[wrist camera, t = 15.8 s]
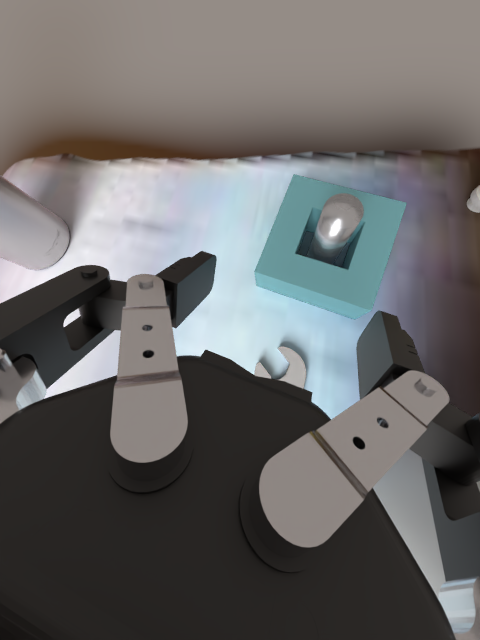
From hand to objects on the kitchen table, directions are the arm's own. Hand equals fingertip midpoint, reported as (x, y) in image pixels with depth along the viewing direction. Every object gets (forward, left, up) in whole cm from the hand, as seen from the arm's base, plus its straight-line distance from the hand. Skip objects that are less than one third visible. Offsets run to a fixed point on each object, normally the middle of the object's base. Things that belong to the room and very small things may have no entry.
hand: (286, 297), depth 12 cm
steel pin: (+2, +12, -19) cm, 23 cm away
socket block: (+2, +12, -19) cm, 23 cm away
